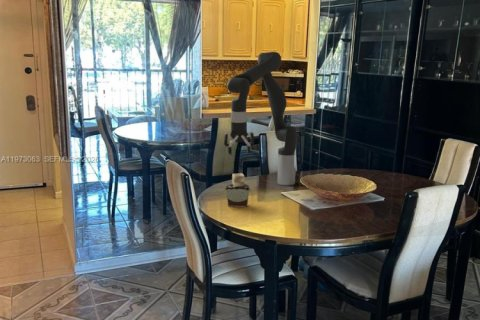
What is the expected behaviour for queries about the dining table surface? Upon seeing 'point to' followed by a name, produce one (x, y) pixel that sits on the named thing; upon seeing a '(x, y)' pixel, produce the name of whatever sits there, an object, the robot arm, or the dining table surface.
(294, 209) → the dining table surface
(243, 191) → the food container
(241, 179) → the beige cube
